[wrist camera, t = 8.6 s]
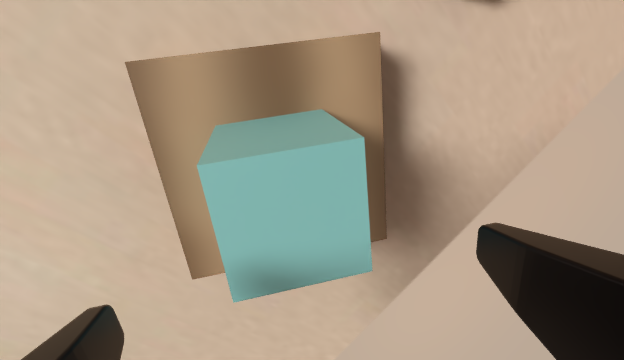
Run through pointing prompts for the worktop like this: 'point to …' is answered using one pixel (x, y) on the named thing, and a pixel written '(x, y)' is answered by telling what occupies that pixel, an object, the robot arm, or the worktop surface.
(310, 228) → the teal block
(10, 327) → the worktop surface
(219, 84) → the oak base
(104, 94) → the worktop surface
